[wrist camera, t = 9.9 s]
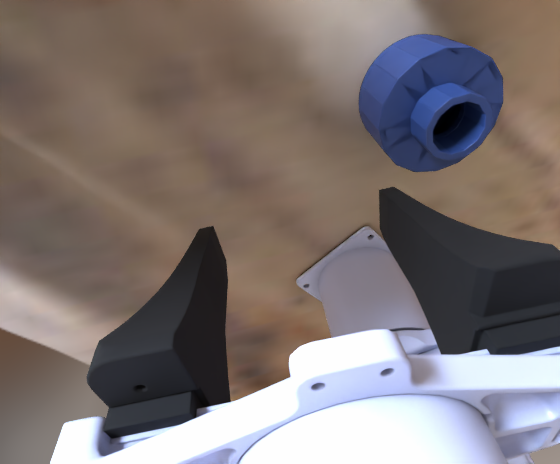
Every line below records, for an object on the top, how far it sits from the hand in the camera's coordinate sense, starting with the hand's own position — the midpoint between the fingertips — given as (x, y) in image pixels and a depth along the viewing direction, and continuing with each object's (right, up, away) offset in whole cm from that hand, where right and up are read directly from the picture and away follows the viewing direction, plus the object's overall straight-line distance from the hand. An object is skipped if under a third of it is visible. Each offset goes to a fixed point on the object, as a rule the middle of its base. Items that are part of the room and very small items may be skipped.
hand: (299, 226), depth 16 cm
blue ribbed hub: (+8, +9, +8) cm, 14 cm away
